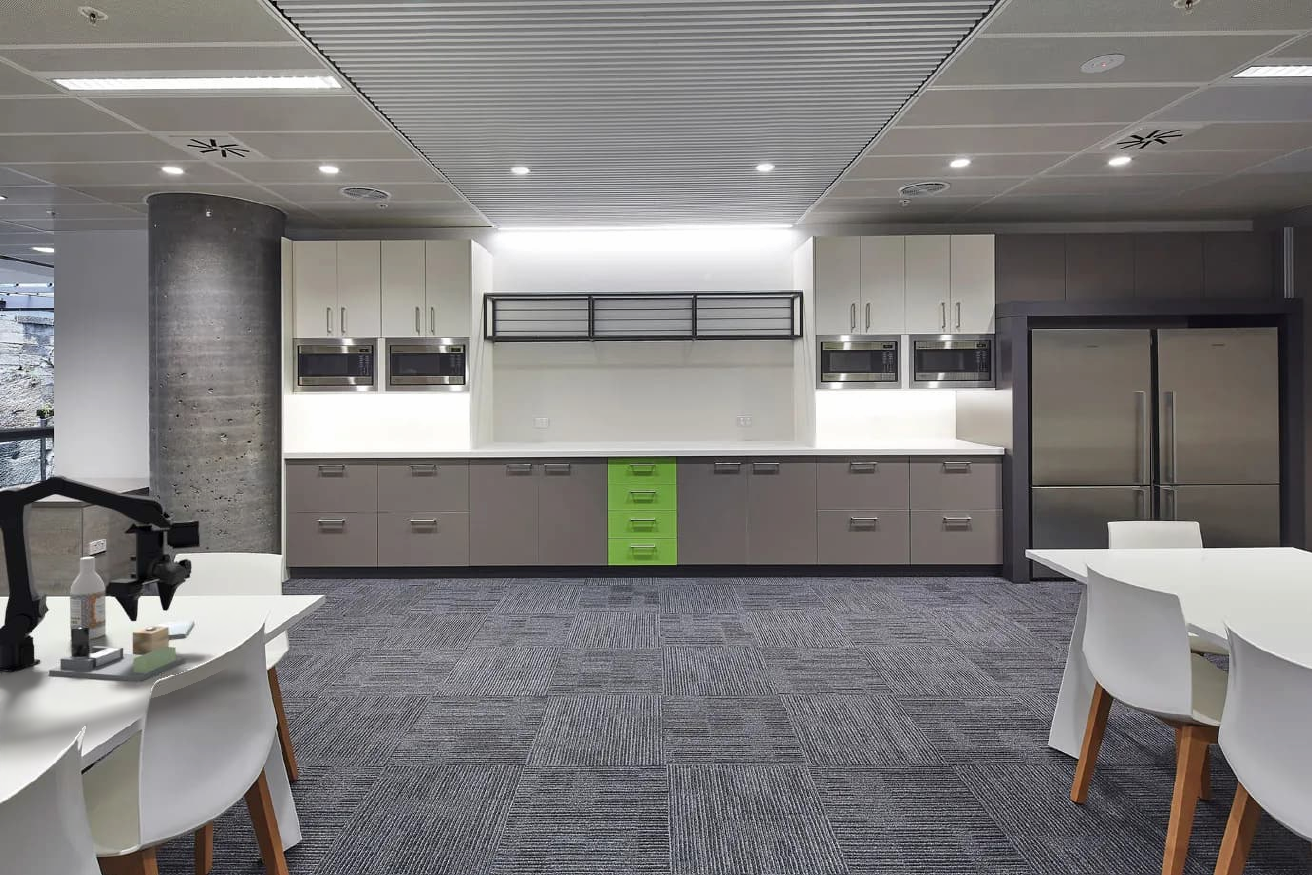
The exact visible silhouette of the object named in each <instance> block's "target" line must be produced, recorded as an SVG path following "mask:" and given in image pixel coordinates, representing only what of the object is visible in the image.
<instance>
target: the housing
mask: <svg viewBox="0 0 1312 875" xmlns="http://www.w3.org/2000/svg"><path fill="white" fill-rule="evenodd" d="M161 647H170V639H169V627H158V626H157V625H156V626H154V625H149V626H146V627H143V628H141V629H138V630H136V631H132V654H142V655H144V654H146V653H149V652H151V651H154V650H156V649H159V648H161Z"/></svg>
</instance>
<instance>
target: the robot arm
mask: <svg viewBox="0 0 1312 875" xmlns="http://www.w3.org/2000/svg"><path fill="white" fill-rule="evenodd" d="M53 495H58V496H61V497H64V498H69V499H73V500H76V501H80V502H83V503H87V504H91V505H95V506H99V507H101V508H105V509H109V510H112V511H115V512H117V513H119V514H122V515H123V516H125V517H126V518H128V519H131V520H133V522H132V523H131V525H130V526H129V527H128V528H126V530H124V534H126V535H129V534H130V535H131V534H134V555H131V556H130V561H131V562H132V561H133V562H134V571H135V572H133V573H132V572H131V573H130V578H118V579H114V580H111V581H108V583H107V584H106V585H105V595H110V597H111V598H114V599H116V601H117V602H118V603H119V604H120V606H121V607H122V609H123V610H124V612H125V614H126V615H127V617H128V618H129V620H130V622H137V621H138V620H137V619H138V610H139V608H138V607H139V600H140V598H141V597H142V595H143V594H144V592H141V591H142V590H143V587H145V586H147V585H150V584H155V583H156V587H157V591H158V597H159V600H160V604H161V609H162V611H165V612H167V611H169V609H170V606H171V603H172V601H173V598H174V595H175V593H176V591H177V589H178V588H179V586H181V585H183V583H185V582H186V581H187V579H189V578H191V573H192V561H191V559H189V558H184V559H180V560H179V562H178V561H172V560H171V558H170V557H171V556H170V553H165V533H166V543H167V544H166V545H167V546H169V547H171V548H172V550H183V549H199V548H201V545H202V544H201V543H202V542H201V541H202V540H201V539H202V531H200V530H201V529H200V528H201V527H200V520H199V519H191V520H183V521H178V520H177V521H175V519H174V518H173V517H172V516H171V515H170V514H169V513H168V512H167V511H166V506H165V503H164V502H163V501H162V500H161V499H160V498H158V497H153V496H147V495H137V494H127V493H126V494H125V493H120V492H118V491H114V490H110V489H107V488H102V487H99V486H96V485H93V484H89V483H85V482H82V481H78V480H75V479H71V478H68V477H66V476H65V475H60V474H57V475H52V476H50V477H49V478H47V479H45V480H43V481H40V482H38V483H34V484H32V485H29V486H27V487H23V488H22V487H19V486H18V487H15V486H13V487H10V488H9V487H8V488H6V489H3V490H0V530H1V533H2V534H1V535H2V542H3V550H4V557H5V558H4V559H5V566H6V575H7V583H8V592H9V596H8V599H7V603H6V607H5V614H4V625H2V626H1V627H0V672H15V671H18V670H21V669H23V668H26V667H27V668H28V667H30V666H32V665H33V666H34V665H35V664H38V663H41V659H37V658H35V644H34V637H33V636H31V634H32V632H33V631H34V630H35V629H36V628H37V627H38V626H39V625H40V624H41V623H42V622H43V620H44V619H45V617H46V614H47V613H48V612H49V610H50V609H49V608H48V605H47V596H48V595H47V593H43V594H38V592H37V590H36V588H35V581H34V574H33V566H32V565H33V564H32V556H31V547H30V539H29V533H28V532H29V530H28V529H29V528H28V526H29V522H30V518H31V515H32V514H31V513H32V505H33V503H35V502H38V501H40V500H43V499H46V498H49V497H50V496H53ZM134 521H135V522H134ZM137 522H138V523H139V524H138V523H137ZM154 526H156V527H154Z"/></svg>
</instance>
